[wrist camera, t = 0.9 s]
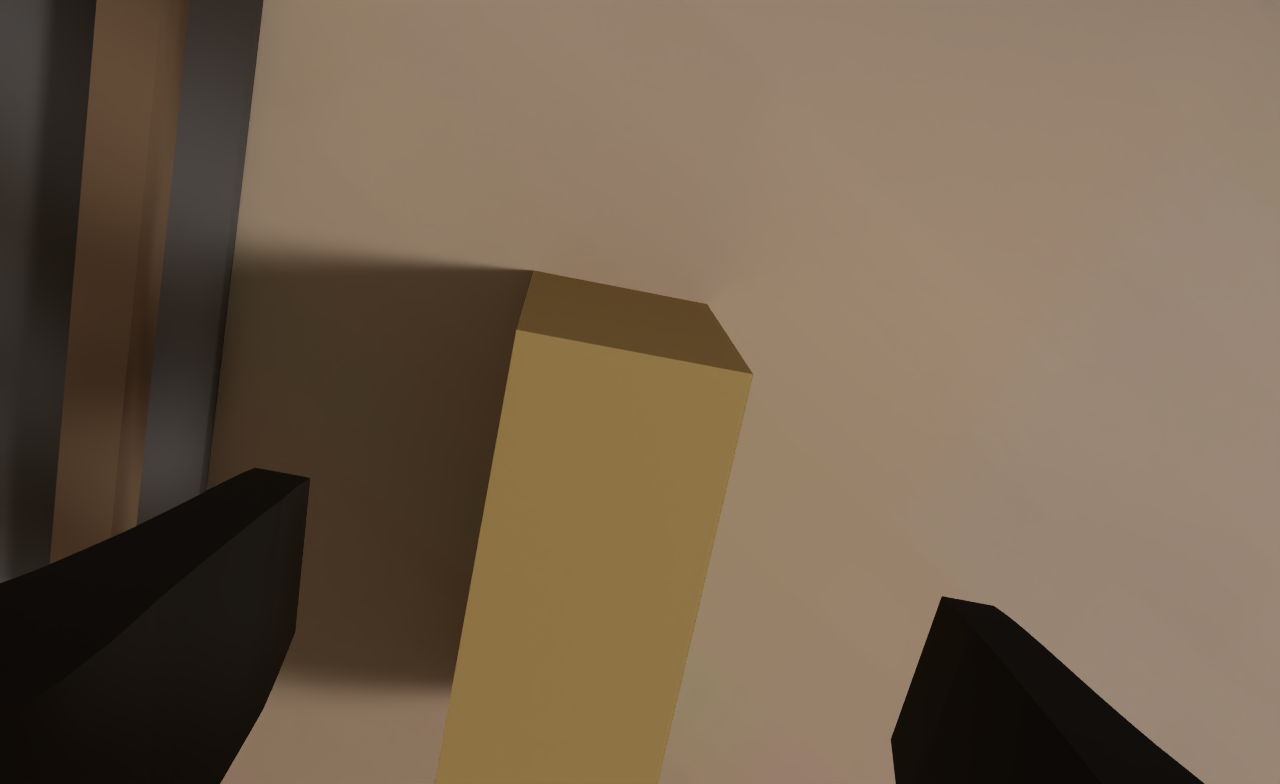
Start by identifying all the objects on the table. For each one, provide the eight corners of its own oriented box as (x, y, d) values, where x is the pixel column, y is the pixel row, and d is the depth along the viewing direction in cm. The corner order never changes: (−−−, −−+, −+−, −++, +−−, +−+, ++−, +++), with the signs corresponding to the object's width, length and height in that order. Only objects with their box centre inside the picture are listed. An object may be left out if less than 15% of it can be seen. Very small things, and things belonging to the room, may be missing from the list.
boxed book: (621, 693, 28) (634, 882, 21) (461, 668, 27) (422, 852, 20) (706, 303, 25) (753, 374, 19) (533, 270, 25) (516, 329, 18)
